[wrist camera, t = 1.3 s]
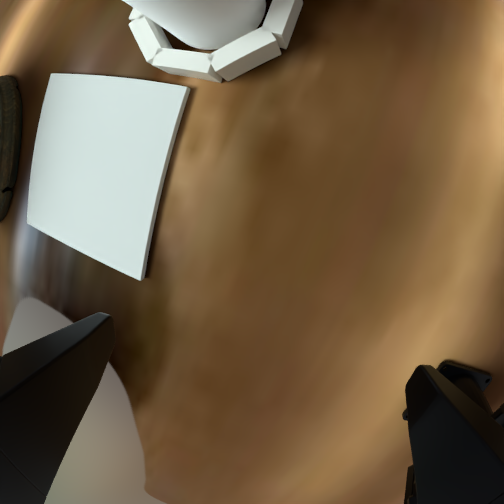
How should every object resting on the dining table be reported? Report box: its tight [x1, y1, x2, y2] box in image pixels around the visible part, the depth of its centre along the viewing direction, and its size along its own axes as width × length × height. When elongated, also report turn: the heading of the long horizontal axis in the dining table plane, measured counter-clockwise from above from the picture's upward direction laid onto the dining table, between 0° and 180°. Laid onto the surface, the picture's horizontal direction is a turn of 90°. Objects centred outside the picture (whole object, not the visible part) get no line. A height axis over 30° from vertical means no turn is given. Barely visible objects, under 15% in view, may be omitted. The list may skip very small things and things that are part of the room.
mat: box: [27, 73, 190, 281], centre depth 20 cm, size 14×14×1 cm
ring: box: [129, 0, 303, 83], centre depth 14 cm, size 10×10×2 cm
